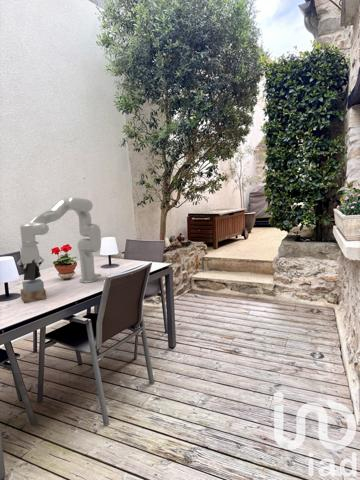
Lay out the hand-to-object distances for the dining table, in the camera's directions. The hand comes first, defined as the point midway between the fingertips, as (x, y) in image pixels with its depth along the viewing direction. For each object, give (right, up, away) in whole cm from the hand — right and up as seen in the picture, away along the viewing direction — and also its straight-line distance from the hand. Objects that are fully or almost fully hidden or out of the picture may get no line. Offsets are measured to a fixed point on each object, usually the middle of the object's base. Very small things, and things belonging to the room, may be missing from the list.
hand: (31, 273), depth 183 cm
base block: (0, -16, +2) cm, 16 cm away
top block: (0, -10, +1) cm, 10 cm away
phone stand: (0, -3, 0) cm, 3 cm away
